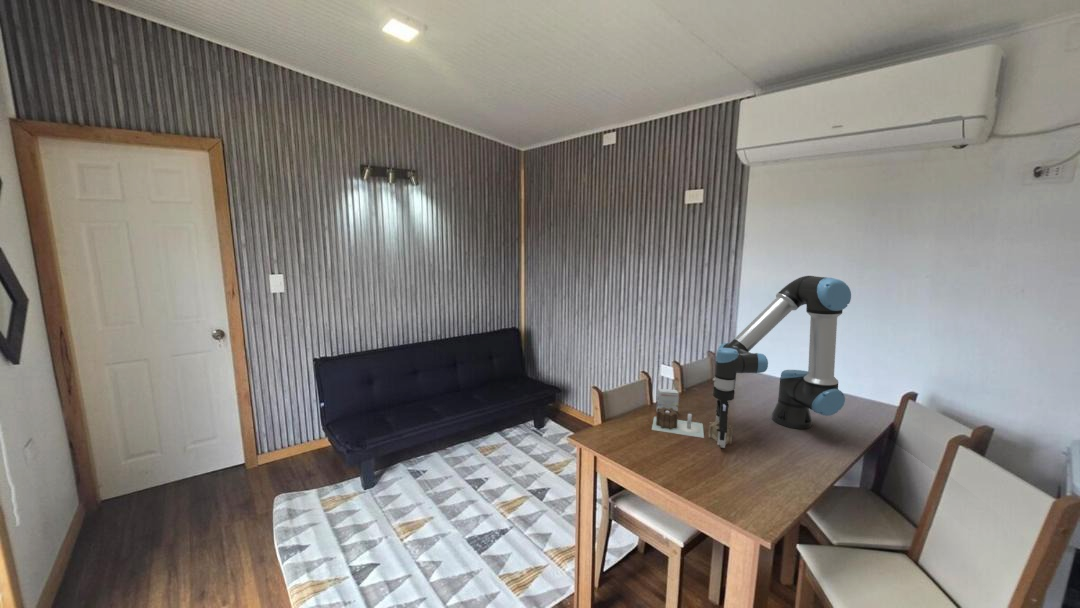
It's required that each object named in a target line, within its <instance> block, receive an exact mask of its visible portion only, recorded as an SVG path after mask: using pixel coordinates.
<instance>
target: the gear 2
mask: <svg viewBox="0 0 1080 608" xmlns="http://www.w3.org/2000/svg"><path fill="white" fill-rule="evenodd" d="M717 429H719V422H717V421H716V420H714V421H713V422H711V421H710V422H709V423H708V438H709V439H713V440H714V441H715V442H717V441H718V431H717ZM722 429H723V428H722ZM733 431H734V428H733V425H732V424H728V423H727V433H726V441H725V446H726V445H728V444H730V445H731V444H732V440H733Z"/></svg>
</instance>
